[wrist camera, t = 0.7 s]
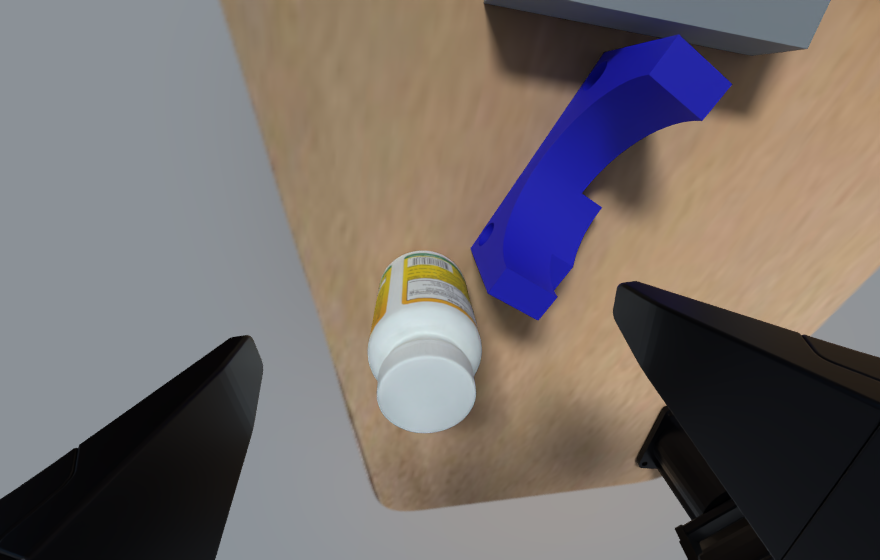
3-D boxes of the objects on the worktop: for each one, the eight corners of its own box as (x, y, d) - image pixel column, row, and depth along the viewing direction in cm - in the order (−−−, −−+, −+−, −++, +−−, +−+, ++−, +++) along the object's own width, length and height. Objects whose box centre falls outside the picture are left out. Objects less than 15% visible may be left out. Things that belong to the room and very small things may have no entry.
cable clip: (528, 280, 24) (561, 333, 19) (470, 247, 23) (487, 293, 18) (664, 104, 20) (756, 107, 15) (603, 52, 19) (678, 34, 14)
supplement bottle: (437, 232, 22) (453, 316, 14) (479, 299, 24) (517, 410, 16) (361, 276, 23) (331, 382, 14) (408, 338, 25) (407, 463, 17)
